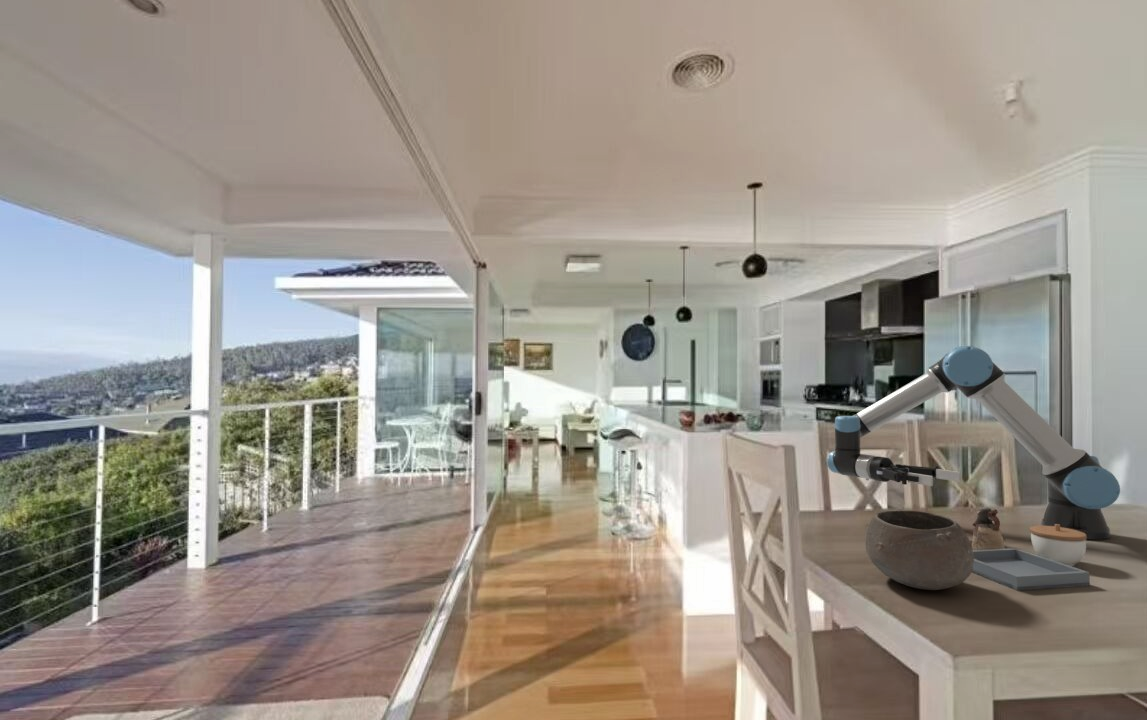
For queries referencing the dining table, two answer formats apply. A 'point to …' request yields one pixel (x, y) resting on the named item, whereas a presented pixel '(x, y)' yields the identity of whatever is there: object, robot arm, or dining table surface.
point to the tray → (1026, 570)
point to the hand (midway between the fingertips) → (946, 479)
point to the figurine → (987, 531)
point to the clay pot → (919, 549)
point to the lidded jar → (1059, 543)
